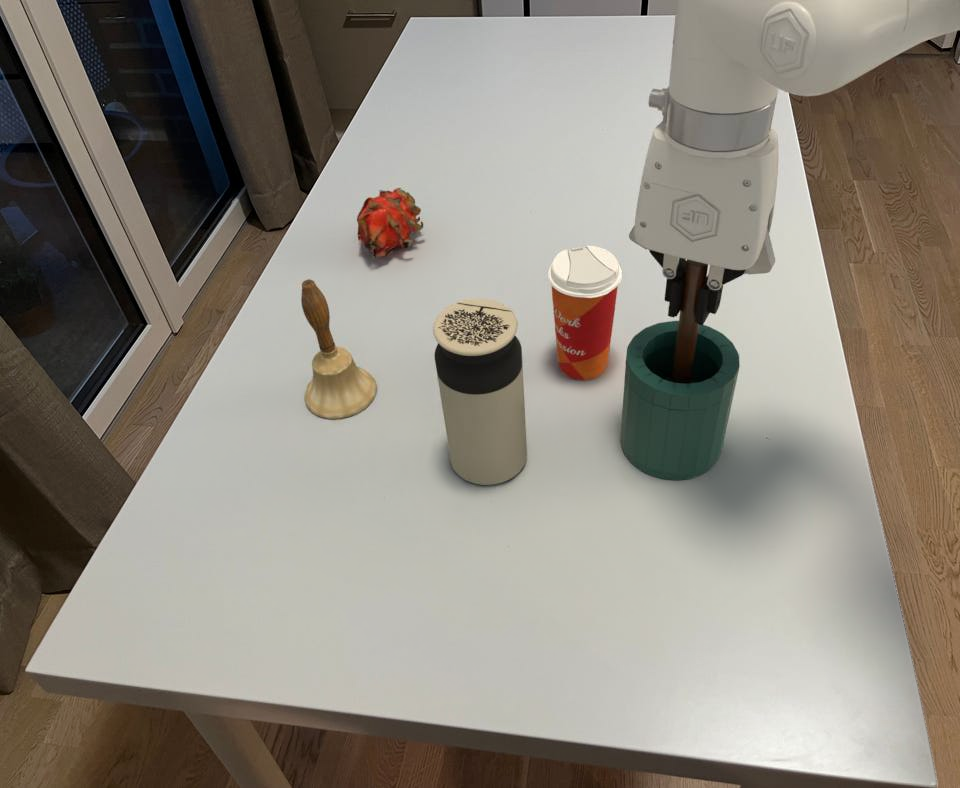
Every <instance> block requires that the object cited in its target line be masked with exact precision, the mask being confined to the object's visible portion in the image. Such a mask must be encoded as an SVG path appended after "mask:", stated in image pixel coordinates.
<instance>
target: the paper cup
mask: <svg viewBox="0 0 960 788" xmlns="http://www.w3.org/2000/svg"><path fill="white" fill-rule="evenodd" d="M622 279H623V271H622V268H621V266H620V265H619V261H618V259H617V258H616V256H615V255H614V254H613V253H612V252H610V251H609V250H607V249H605V248H604V247H603V248H602V247H600V246H595V245H585V247H583V246H576V247H572V248H570V249H569V250H568V249H564V250H562V251H560V252H559V253H558V254H556V256H554V258H553V260H552V262H551V265H550V267H549V268H548V271H547V280H548V282H549V284H550V287H551V298H552V308H553V321H554V331H555V332H554V333H555V343H556V354H557V363H558V367H559V369H560V371H561V372H562V373H563V374H564V375H565V376H566V377H568V378H570V379H573V380H577V381H589V380H593V379H596V378H598V377H600V376H601V375H602V374H604V373H605V371H606V370H607V366H608V362H609V357H610V348H611V341H612V334H613V327H614V320H615V319H614V318H615V310H616V303H617V295H618V290H619V289H618V288H619V285H620V283H621V282H622Z"/></svg>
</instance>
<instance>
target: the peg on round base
mask: <svg viewBox="0 0 960 788" xmlns="http://www.w3.org/2000/svg"><path fill="white" fill-rule="evenodd" d="M686 261H687V263H686V270H685V278H684V286H683V294H682V301H681V309H680V312H679V317H678V321H679V324H678V332H677V340H676V347H675V355H674V363H673V370H672V376H671V377H667V378H665V379H664V380H667V381H670V382H674V383H683V384H690V383H697V382H695V381H694V380H692V379H691V374H692V368H693V361H694V355H695V348H696V342H697V335H698V329H699V324H697V322H695V317H696V311H697V304H698V297H699V291H700V288H701V286H702V284H703V283H704V281H705V279H706V277H707V275H708V271H709V265H708V264H704V263H700V262H696V261H692V260H688V259H686Z"/></svg>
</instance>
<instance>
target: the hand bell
mask: <svg viewBox="0 0 960 788" xmlns="http://www.w3.org/2000/svg"><path fill="white" fill-rule="evenodd" d="M300 300H301V308H302V311H303V314H304V317H305V319H306V321H307V322H308V324H309V326H310V327H311V328H312V330H313V331H314V333H315V335H316V339H317V343H318V347H319V351H317V353H315V355H314V356H313V358H312V360H311V368H312V379H311V380H310V381H309V383H308V385H307V387H306V389H305V391H304V403H305V406H306V408H307V409H308V410H309V412H311V413H312V414H313V415H315V416H317V417H320V418H323V419H327V420H342V419H346V418H350V417H353V416H355V415H357V414H359V413H361V412H363V411H364V410H365V409H367V407H369V406H370V404H372V402H373V401H374V399H375V397H376V395H377V389H378V387H377V386H378V385H377V382H376V379H375V378H374V377H373V375H372V374H371V373H370V372H368V371H367V370H365V369H364V368H362V367H360V366H357V363H356V362H355V361H354V358H353V356H352V354H351V352H350V351H349V350H348V349H346V348H345V347H343V346H337V345H336V343H335V340H334V337H333V335H332V331H331V329H330V328H331V327H330V319H331V318H330V317H331V316H330V309H329V308H330V307H329V304H328V302H327V299H326V297H325V295H324V293H323V292H322V290H321V289H320V288H319V287H318V286H317V284H316V282H315V280H313V279H310V278H309V279H305V280H303V281H302V283H301V299H300Z"/></svg>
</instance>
